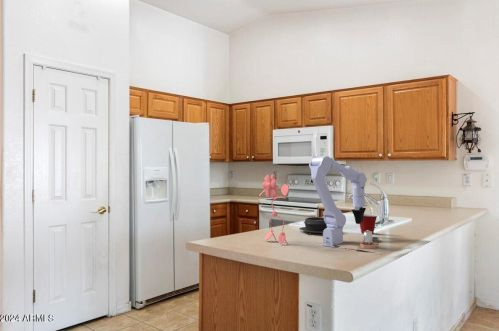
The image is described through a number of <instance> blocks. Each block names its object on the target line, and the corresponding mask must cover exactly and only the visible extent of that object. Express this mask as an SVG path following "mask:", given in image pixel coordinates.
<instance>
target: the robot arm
mask: <svg viewBox="0 0 499 331" xmlns="http://www.w3.org/2000/svg"><path fill="white" fill-rule="evenodd" d="M308 167H309V169H310V172H311V173H310V174H311V175H310V176H311V180H312V182H313V186H314V188H315V190H316V192H317V194H318V196H319V199H320V201H321V204H322V206H323V209H324V211H323V212H322V215H323V217H324V221H325V223H326V224H327V226H328V227H327V228H326V229H324V231H323V234H322V244H321V245H322V246H325V247H331V248H338V247H340V245H339V244H343V243H344V226H345V225H346V223H347V218H346V215H345V214H344V213H343V212H342V210H341V209H340V208H338V207H337V205H336V204H335V203H336V202H335V200H334V198H333V197H332V194H331V192H330V189H329V187H328V184H327V182H326V179H325V177H326V176H327V174H328V173H329V171H330V170H334V171H337V172H339V173H340V175H341V177H344V178H345V179H347V180H348V181H350V183H351V184H352V207H354V209H351V212H352V214H353V216H354V220H355V224H356V225H360V224H361V222H363V216H364V214H365V212H366V210H367V207H368V204H365V203H366V202H365V201H366V200H365V196H366V195H365V187H366V182H367V180H368V177H367V176H366V174H365V173H364V172H359V170H357V169H355V168H352V166H351V165H346V166H344V165H342V164H341V163H339V162H338V161H336V160H334V159H333V158H332V157H330V156H328V155H327V156H314V157H312V158H311V159H310V161H309V164H308ZM337 244H338V245H337Z"/></svg>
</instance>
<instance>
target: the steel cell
mask: <svg viewBox="0 0 499 331" xmlns="http://www.w3.org/2000/svg"><path fill="white" fill-rule="evenodd" d="M372 237H373V234H372V231H370V230H366V231H364V234H363V240H364V245H372Z"/></svg>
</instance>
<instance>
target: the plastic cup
mask: <svg viewBox="0 0 499 331" xmlns="http://www.w3.org/2000/svg"><path fill="white" fill-rule="evenodd" d="M378 216H379V215H377V214H371V213H370V214H369V213H364V216H363V222H361V224H359V228H360V232H361V234H362V235H364V231H366V230H370V231H372V235H373V234H375V233H374V232H375V228H376V227H375V226H376V221H377V218H378Z"/></svg>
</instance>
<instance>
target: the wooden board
mask: <svg viewBox="0 0 499 331" xmlns="http://www.w3.org/2000/svg"><path fill="white" fill-rule="evenodd" d="M381 241H382V240H380V239H379V242H378V243H375V244H376V248H373V249H372V250H377V249H378V247H379V246H380V243H381ZM361 243H364V239H362V242H361ZM372 243H373V242H372ZM357 252H358V253H373V254H375V252H374V251H369V250H367V249H366V248H361V247H360V245H358V247H357Z"/></svg>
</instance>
